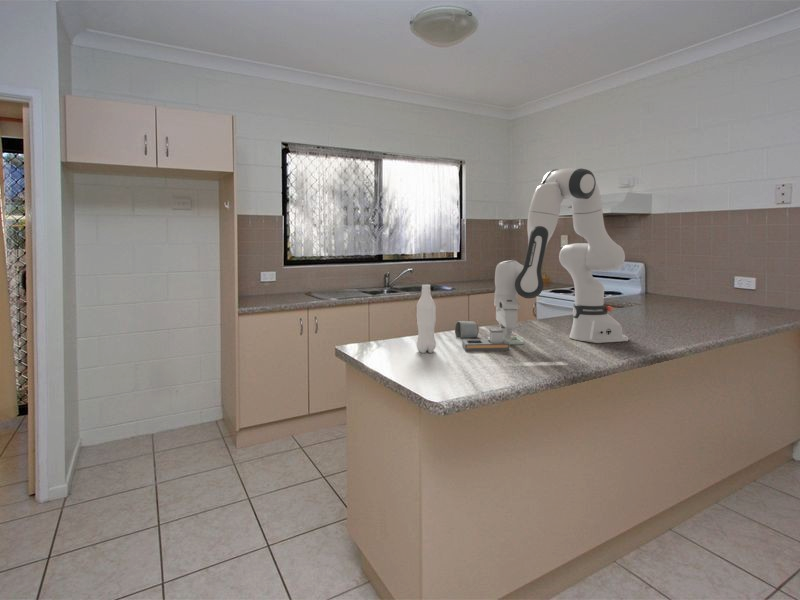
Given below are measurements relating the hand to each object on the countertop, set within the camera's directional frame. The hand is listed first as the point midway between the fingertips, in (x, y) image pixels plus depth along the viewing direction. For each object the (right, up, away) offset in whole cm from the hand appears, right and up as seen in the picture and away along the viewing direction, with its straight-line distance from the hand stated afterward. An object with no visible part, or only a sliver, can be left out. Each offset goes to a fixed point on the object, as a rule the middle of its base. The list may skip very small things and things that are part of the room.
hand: (505, 336), depth 194 cm
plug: (0, -3, 0) cm, 3 cm away
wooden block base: (-10, -5, -11) cm, 15 cm away
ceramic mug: (-14, -2, +12) cm, 19 cm away
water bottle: (-32, -5, -11) cm, 34 cm away
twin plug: (-6, -4, -11) cm, 13 cm away
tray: (0, -3, 0) cm, 3 cm away
